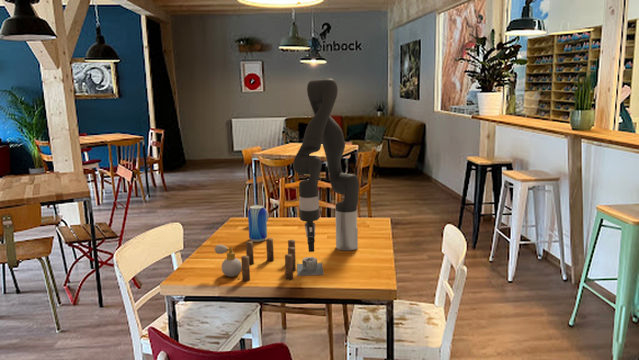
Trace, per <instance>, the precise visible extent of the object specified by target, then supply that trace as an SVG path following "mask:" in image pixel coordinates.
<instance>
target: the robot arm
mask: <svg viewBox="0 0 639 360" xmlns="http://www.w3.org/2000/svg"><path fill="white" fill-rule="evenodd" d="M306 91H307V93H306V94H307V97H308V101H309V103H310V106H311V109H312V112H313V115H314V116H313V117H312V118H311V120H310V121H309V123H308V124H307V126H306V127H305V132H304V134H303V140H302V143H301V145H300V147H299V149H298V151H297V153H296V154H295V156H294V159H293V161H292V162H293V163H292V166H293V171H294V172H295V173H296V174H299V175H309V178H308V179H303V180H301V181H299V183H298V190H299V191H298V192H299V193H298V194H299V195H298V196H299V200H298V207H299V209H298V210H299V220H300V221H302V222H305V223H304V229H305V235H306V238H307V248H308V252H309V253H313V252H315V242H316V240H315V237H316V221H319V219H320V200H319V189H318V185H319V179H320V175H321V171H322V164H323V163H322V160H321V158H320V157H319V156H318V155H312V154H314V153H317V152H319V151H320V150H321V147H322V148H323V151H324V155H325V158H326V163H327V167H328V174H329V180H330V186H331V188H332V190H333V192H334V193H335V194H339V195H344V197H343V200H341V201H337V202H336V204H335V245H336V246H335V247H336V249H337V250H338V251H344V252H346V251H347V252H348V251H355V250H358V249H359V247H358V246H359V244H358V241H359V240H358V236H359V235H358V230H359V229H358V219H357V218H358V217H357V216H358V211H357V210H358V204H359V192H360V182H359V178H358V176H357V175H356V174H354V173H345V172H343V170H342V169H343V168H342V163H341V162H342V161H341V160H342V157H343V154H344V151H345V149H346V141H345V136H344V133H343V129H342V127H340V125H339V124H338V123H337V122H336V121H335V119H334V118H333V117H332V116H331V114H332V110H333V108H334V105H335V103H336V101H337V97H338V84H337V82H336V81H335V80H334V79H333V78H320V79H312V80H310V81H309V82H308V84H307V88H306Z"/></svg>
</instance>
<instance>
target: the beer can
mask: <svg viewBox="0 0 639 360" xmlns="http://www.w3.org/2000/svg"><path fill="white" fill-rule="evenodd" d="M265 209H266V208H265V206H264V205H262V204H254V205H251V206H249V209H248V210H247V219H248V238H249V240H250V241H252V242H255V243H258V242H259V243H260V242H264V241H266V239H268V227H267V226H268V224H267V222H268V221H266V210H267V209H266V210H265Z"/></svg>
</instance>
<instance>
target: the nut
mask: <svg viewBox="0 0 639 360" xmlns="http://www.w3.org/2000/svg"><path fill="white" fill-rule="evenodd" d="M301 261H302V263H301V264H303V270H305V271H306V272H310V271H315V270H316V269H317V263H318V259H317V258H316V257H314V256H309V257H308V256H306V257H304V258H302V260H301Z"/></svg>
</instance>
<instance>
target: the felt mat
mask: <svg viewBox="0 0 639 360" xmlns="http://www.w3.org/2000/svg"><path fill="white" fill-rule="evenodd" d="M296 269H297V273H296V275H297V277H300V276H301V277H303V276H306V277H308V276H309V277H310V276H324V273H325V272H324V268H323V263H322V262H317V269H316V270H315V271H310V272H306V271H305V270H303V264H302V263H296Z"/></svg>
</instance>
